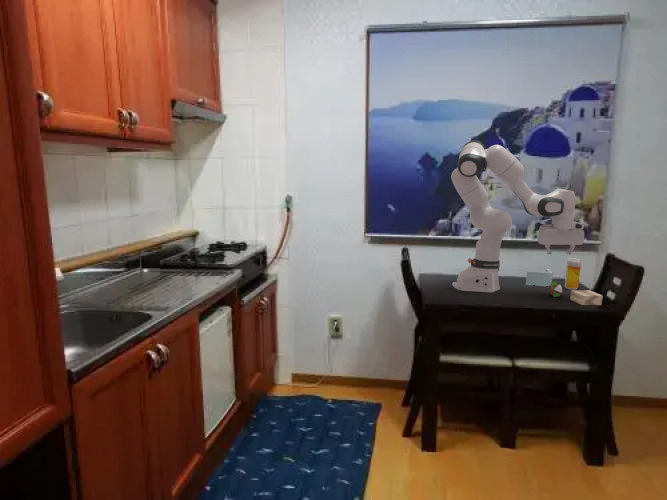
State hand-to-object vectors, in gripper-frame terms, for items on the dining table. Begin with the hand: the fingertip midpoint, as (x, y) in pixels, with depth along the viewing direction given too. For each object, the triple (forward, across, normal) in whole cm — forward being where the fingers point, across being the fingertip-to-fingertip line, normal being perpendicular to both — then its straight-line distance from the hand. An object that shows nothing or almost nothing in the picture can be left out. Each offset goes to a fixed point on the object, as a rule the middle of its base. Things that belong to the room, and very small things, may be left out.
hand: (559, 254), depth 220 cm
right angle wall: (+20, +3, +25) cm, 32 cm away
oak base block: (+20, +9, -10) cm, 24 cm away
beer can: (+20, +16, +14) cm, 29 cm away
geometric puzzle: (+20, 0, 0) cm, 20 cm away
